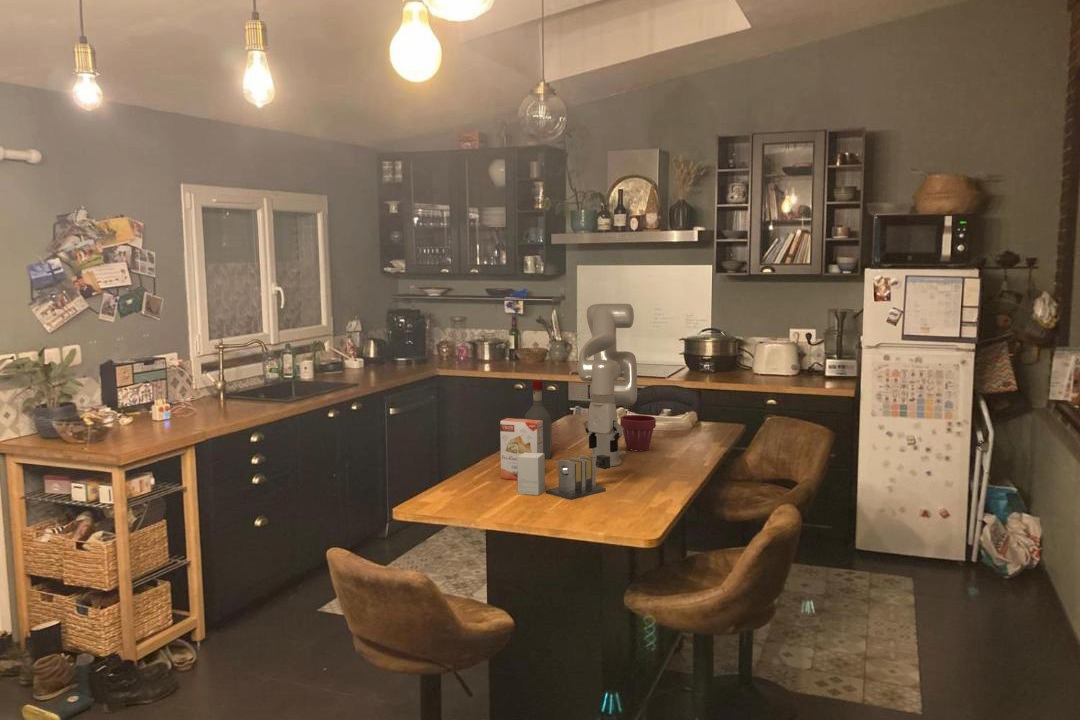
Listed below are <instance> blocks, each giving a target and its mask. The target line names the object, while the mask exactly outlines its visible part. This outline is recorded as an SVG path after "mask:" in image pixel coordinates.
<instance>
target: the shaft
mask: <svg viewBox="0 0 1080 720" xmlns="http://www.w3.org/2000/svg"><path fill="white" fill-rule="evenodd" d="M597 468H598V469H602V470H608V469H611V467H610V456H606V455H597V460H596V469H597ZM560 472H561V474H566V473H568V467H565V468H561V469H560Z"/></svg>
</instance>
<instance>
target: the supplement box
mask: <svg viewBox="0 0 1080 720" xmlns="http://www.w3.org/2000/svg"><path fill="white" fill-rule="evenodd" d="M545 464H546V461H545V456H544V453H527V452H524V453H523V454H521V455H519V456H518V457H517V469H518V480H517V494H518V495H525V494H526V496H540V495H541V494H543V493H544V492H545V490H546V466H545Z"/></svg>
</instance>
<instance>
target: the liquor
mask: <svg viewBox="0 0 1080 720" xmlns="http://www.w3.org/2000/svg"><path fill="white" fill-rule="evenodd" d="M532 392H533V393H532V396H533V397H532V404H531V405H532V406H530V408H529V410H528V411H527V412H525V415H524V417H523V419H527V420H542V421H543V453H544V456H545V459H547V460H550V459H551V457H552V455H553V449H552V448H553V440H552V439H553V438H552V435H553V434H552V426H553V425H552V421H553V420H552V419H553V418H552V415H551V413H550V412H549V411H548V410H547V408H546V407H545V406H544V404H543V380H539V379H537V380H532Z"/></svg>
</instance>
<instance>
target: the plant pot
mask: <svg viewBox="0 0 1080 720" xmlns="http://www.w3.org/2000/svg"><path fill="white" fill-rule="evenodd" d="M656 421H657V420H656V417H654V416H652V415H644V414H629V415H627V414H626V415H622V416H621V417H620V421H619V422H620V424H619V425H621V426H622V427H623V428H624V430H623V432H622V435H623V438H624V444H625V448H626V449H627V448H628V449H632V450H645V451H648V450H650V445H651V443H652V437H653V432H654V429H656V426H657V425H656V424H657V423H656ZM628 449H627V450H628ZM647 449H648V450H647ZM632 450H631V451H632Z"/></svg>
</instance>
